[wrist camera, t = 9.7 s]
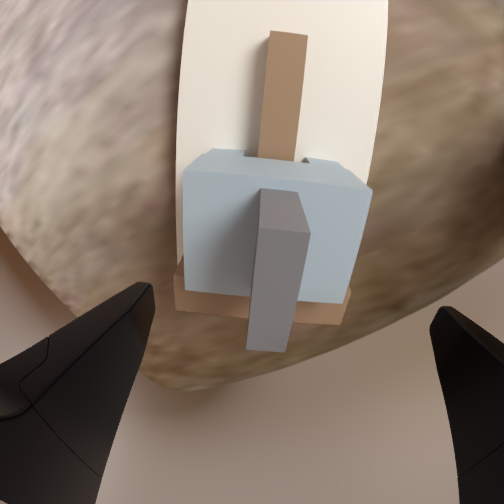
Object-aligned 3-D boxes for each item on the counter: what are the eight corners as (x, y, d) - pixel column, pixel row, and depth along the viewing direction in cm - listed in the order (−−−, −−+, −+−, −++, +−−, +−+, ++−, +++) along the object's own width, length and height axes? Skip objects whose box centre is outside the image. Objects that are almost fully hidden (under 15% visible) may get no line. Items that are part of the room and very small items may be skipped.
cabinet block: (340, 162, 17) (412, 230, 8) (323, 248, 20) (359, 362, 11) (208, 147, 17) (148, 202, 8) (205, 237, 20) (164, 347, 11)
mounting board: (380, -41, 11) (413, -75, 5) (334, 283, 23) (350, 336, 18) (205, -63, 10) (186, -106, 5) (182, 269, 23) (161, 320, 18)
